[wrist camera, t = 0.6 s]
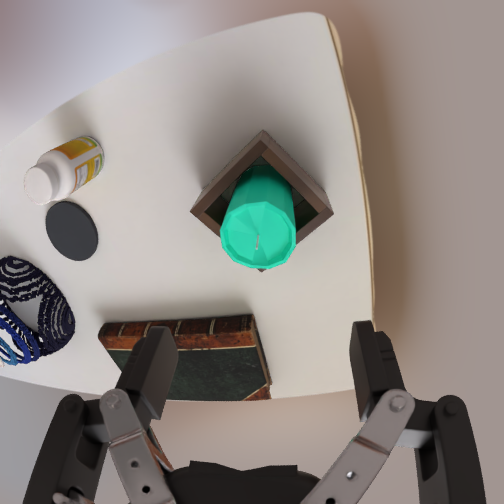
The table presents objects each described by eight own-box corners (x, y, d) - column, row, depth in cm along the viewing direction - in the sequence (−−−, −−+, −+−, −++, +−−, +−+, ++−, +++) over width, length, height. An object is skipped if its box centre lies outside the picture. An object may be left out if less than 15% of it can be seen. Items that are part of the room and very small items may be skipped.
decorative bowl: (84, 352, 52) (54, 410, 40) (13, 324, 51) (-20, 370, 39) (63, 271, 42) (13, 335, 29) (-14, 247, 41) (-62, 294, 29)
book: (145, 384, 55) (272, 383, 51) (140, 398, 52) (271, 400, 48) (104, 320, 46) (253, 311, 42) (95, 335, 43) (251, 330, 39)
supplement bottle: (63, 147, 31) (11, 174, 23) (94, 128, 30) (41, 150, 22) (80, 184, 34) (34, 219, 26) (112, 168, 33) (65, 201, 24)
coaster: (40, 231, 38) (38, 233, 38) (60, 188, 34) (58, 189, 34) (83, 269, 41) (81, 271, 40) (108, 230, 37) (106, 233, 37)
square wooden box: (202, 191, 34) (189, 211, 29) (263, 129, 30) (260, 139, 25) (263, 245, 37) (261, 272, 32) (326, 192, 33) (334, 214, 28)
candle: (303, 190, 33) (315, 247, 22) (265, 226, 35) (259, 294, 25) (261, 152, 31) (252, 194, 21) (224, 192, 34) (200, 249, 23)
